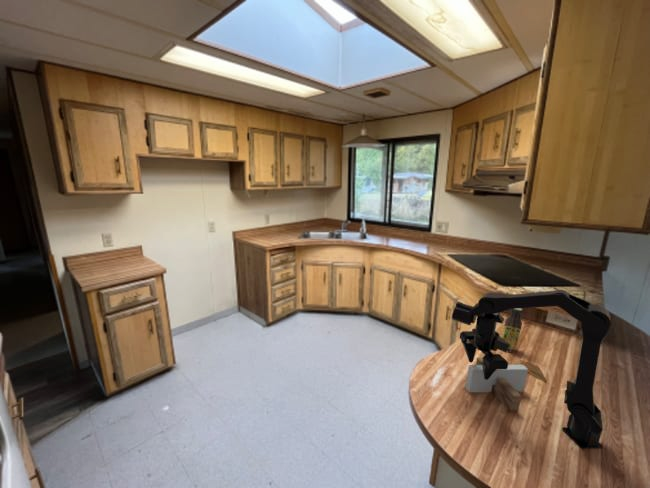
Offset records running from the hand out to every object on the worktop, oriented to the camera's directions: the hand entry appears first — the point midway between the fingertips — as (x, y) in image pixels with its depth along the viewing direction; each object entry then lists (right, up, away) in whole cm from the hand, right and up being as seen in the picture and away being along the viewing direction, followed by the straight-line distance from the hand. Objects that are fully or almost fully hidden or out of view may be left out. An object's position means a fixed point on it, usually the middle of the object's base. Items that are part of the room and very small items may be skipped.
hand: (478, 370), depth 99 cm
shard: (+29, -7, +13) cm, 33 cm away
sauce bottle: (+28, -3, +28) cm, 40 cm away
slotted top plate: (+7, -8, +2) cm, 10 cm away
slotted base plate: (+7, -8, +2) cm, 10 cm away
